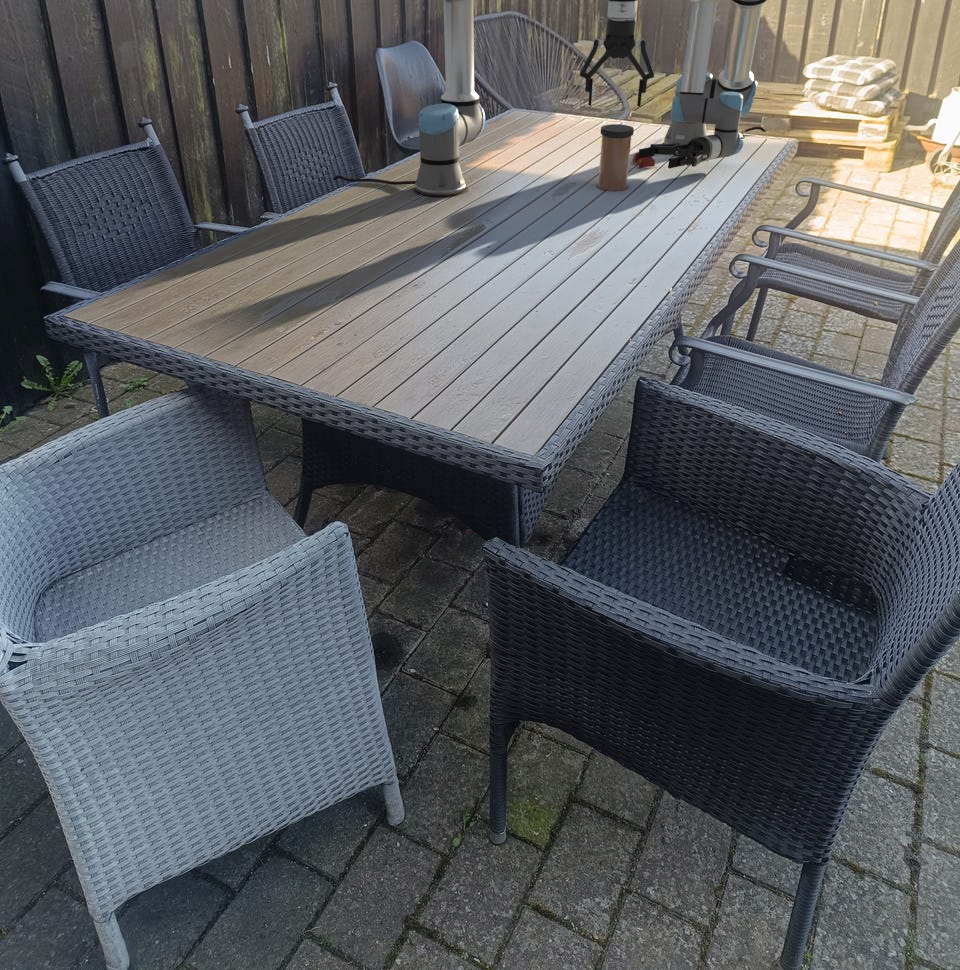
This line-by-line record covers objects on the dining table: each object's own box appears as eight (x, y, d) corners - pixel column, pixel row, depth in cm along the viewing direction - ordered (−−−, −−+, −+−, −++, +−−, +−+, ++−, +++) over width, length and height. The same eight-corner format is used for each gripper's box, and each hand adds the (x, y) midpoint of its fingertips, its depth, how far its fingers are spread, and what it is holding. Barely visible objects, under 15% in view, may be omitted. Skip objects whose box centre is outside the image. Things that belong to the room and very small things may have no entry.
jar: (600, 190, 258) (605, 133, 248) (596, 182, 265) (600, 126, 255) (628, 190, 258) (634, 132, 248) (623, 182, 265) (628, 125, 255)
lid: (603, 138, 248) (603, 132, 247) (598, 130, 256) (598, 124, 255) (636, 137, 248) (636, 131, 247) (629, 129, 256) (630, 123, 255)
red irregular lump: (647, 147, 282) (657, 154, 276) (646, 160, 284) (656, 167, 278) (631, 149, 281) (641, 155, 275) (630, 162, 283) (640, 169, 277)
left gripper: (573, 20, 221) (569, 106, 234) (670, 21, 219) (660, 108, 231) (574, 16, 227) (569, 101, 240) (668, 17, 225) (658, 103, 237)
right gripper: (729, 169, 266) (680, 180, 257) (674, 152, 283) (626, 162, 274) (733, 145, 262) (684, 155, 252) (677, 129, 279) (628, 137, 269)
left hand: (614, 105), depth 235 cm, fingers open, 13 cm apart
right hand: (654, 158), depth 263 cm, fingers open, 13 cm apart
